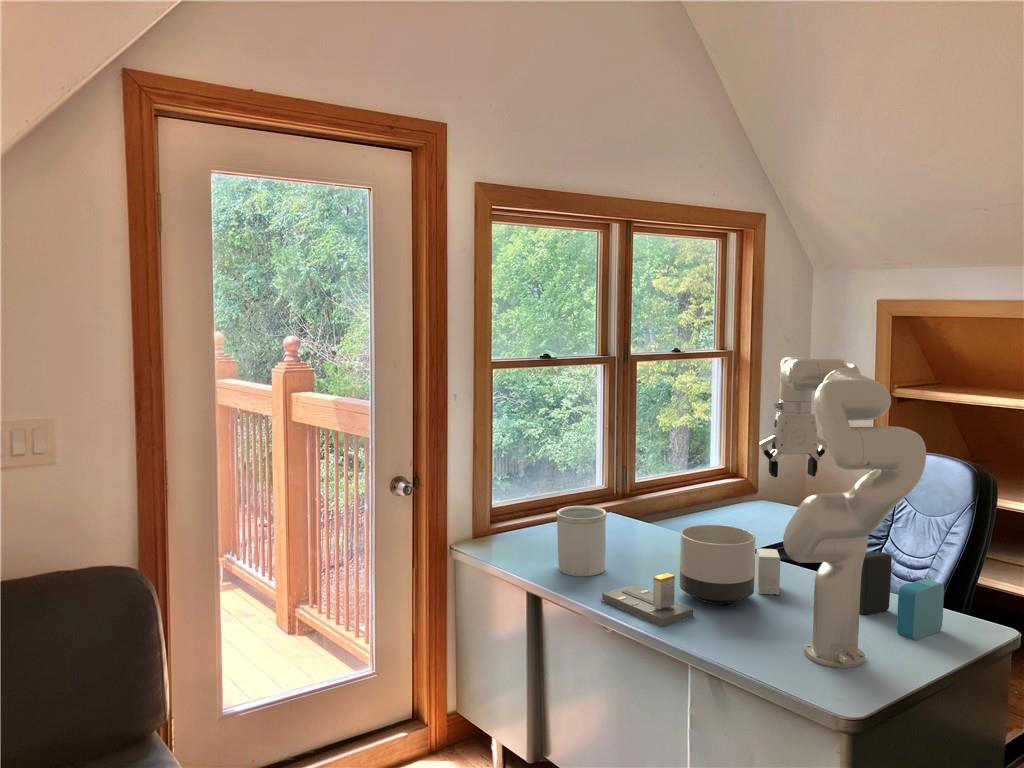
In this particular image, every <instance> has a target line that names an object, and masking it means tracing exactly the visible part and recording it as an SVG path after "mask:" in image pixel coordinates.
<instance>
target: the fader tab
mask: <svg viewBox="0 0 1024 768" xmlns="http://www.w3.org/2000/svg"><path fill="white" fill-rule="evenodd" d="M675 578H676V575H674V574H672V573H669V572H666V573H663V574H658V575H654V576H653V578H652V579H653V581H652V582H653V585H652V586H653V589H652V593H653V607H655V608H658V609H660V610H661V609H664V608H667V607H670V606H674V601H675V591H676V590H675V584H676V583H675V581H676V579H675Z"/></svg>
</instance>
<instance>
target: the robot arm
mask: <svg viewBox="0 0 1024 768" xmlns="http://www.w3.org/2000/svg"><path fill="white" fill-rule="evenodd" d="M779 375H780V376H779V399H778V401H777V402H775V403H774V404H773V409H776V410H778V411H776V413H775V417H774V421H773V426H772V427H773V428H772V435H771V436H769V437H768V438H766V439H765V438H764V439H763V440H762V441H760V442H759V443H758V446H759V447H760V450H761V451H762V454H763V455H764V456H765V458H767V459H768V473H769V475H770V476H772V477H773V478H778V472H779V461H777V459H779V457H780V456H781V455H808V456H809V458H808V459H807V474H808V475H809V476H811V477H816V476H817V474H816V473H818V461H820V459H821V457H822V456H823V455H825V452H826V450H827V452H828V454H829V456H830V458H831V459H830V460H831V461H832V462H833V463H834V465H836V466H837V467H839V468H840V469H843V470H846V471H847V470H848V471H865V470H867V471H869V470H870V471H869V472H868V473H865V474H863V475H862V476H861V477H860V478H858V480H856V481H855V483H854V485H853V486H852V487H851V488H850V489H849V490H848V491H843V492H829V493H828V492H827V493H826V492H825V493H824V492H823V493H815V494H812V495H809V496H808V497H806V498H805V499H803V501H802V502H801V503H800V505H799V506H798V508H797V509H796V510H795V512H794V514H793V515H792V516H791V518H790V520H789V521H788V523H787V525H786V527H785V529H784V532H783V537H782V541H783V548H784V551H785V553H786V554H787V556H788V557H789V559H791V560H792V561H794V562H797V563H801V564H802V563H805V564H807V563H810V564H812V563H821V564H820V566H819V568H818V569H817V571H816V573H815V576H814V577H815V578H814V585H813V586H814V587H813V588H814V590H813V610H812V611H813V617H812V638H811V639H812V641H810V642H808V643H807V644H806V645H805V647H804V653H805V656H806V657H807V658H809V659H810V660H811V661H813V662H815V663H818V664H821V665H824V666H827V667H831V668H832V667H833V668H840V669H852V668H857V667H860V666H862V665H864V663H865V662H866V654H865V653H864V651H863V650H861V649H860V648H859V629H860V614H859V610H860V589H861V573H862V566H863V561H864V557H865V554H867V553H866V552H867V548H868V536H870V535H871V534H872V533H874V532H875V530H877V529H878V527H879V526H880V525H881V524H882V523H883V522H884V520H885V519H886V518H887V517H888V515H889V514H890V513H891V512H892V510H893V509H894V508H895V507H896V506H897V505H898V504H899V503H900V502H901V501H902V500H904V499H905V498H906V497H907V496H908V495H909V494H910V493H911V492H912V491H913V490H914V489H915V487H916V486H917V485H918V483H919V482H920V480H921V478H922V476H923V473H924V470H925V467H926V462H927V447H926V443H925V441H924V439H923V438H922V436H921V435H920V434H919V433H917V432H916V431H914V430H912V429H909V428H906V427H902V426H893V425H890V426H889V425H887V426H883V425H882V426H877V425H876V426H851V425H850V423H849V421H850V422H851V421H853V422H854V421H857V422H858V421H873V420H876V419H878V418H880V417H882V416H884V415H885V414H886V413H887V412H888V411H889V410H890V408H891V406H892V405H891V404H892V398H891V397H892V396H891V393H890V391H889V390H888V388H887V387H885V385H883V384H882V383H881V382H879V381H877V380H874V379H872V378H869V377H867V376H864V375H862V374H861V372H860V369H859V367H858V365H856V364H855V363H852V362H850V361H847V360H844V359H839V358H808V357H802V356H790V357H789V356H788V357H784V358H783V359H782V360H781V361H780V373H779ZM813 391H814V392H815V393H814V401H813V402H814V403H813V404H814V410H815V413H813V412H812V400H813V399H812V398H813V397H812V395H813ZM816 417H817V420H816ZM817 421H818V423H819V427H820V429H821V432H822V435H823V438H820V437H819V436H818V427H817ZM818 444H819V448H818ZM769 445H771V449H772V450H771V451H769V450H768V446H769Z"/></svg>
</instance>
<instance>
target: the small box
mask: <svg viewBox="0 0 1024 768" xmlns="http://www.w3.org/2000/svg"><path fill="white" fill-rule="evenodd" d="M755 565H756V566H755V585H756V590H757V592H758V594H759V595H760V594H761V595H773V594H776V595H778V596H779V595H780V590H781V589H780V583H781V581H780V580H781V556H780V554H779V552H778V549H773V548H758V547H757V548H756V552H755ZM776 595H775V596H776Z"/></svg>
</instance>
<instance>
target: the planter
mask: <svg viewBox="0 0 1024 768" xmlns="http://www.w3.org/2000/svg"><path fill="white" fill-rule="evenodd" d="M679 539H680V542H679V543H680V545H679V549H680V550H679V553H680V554H679V588H680V589H681V590H682V591H683V592H684V593H686V594H688V595H690V596H693V597H694V598H696V599H698V600H700V601H702V602H705V603H708V604H712V605H713V604H714V605H726V604H727V605H728V604H732V603H735V602H738V601H740V600H743V599H747V598H749V597H751V596H752V595H753V594H754V592H755V578H756V566H755V565H756V534H754V533H753V532H751V531H749V530H747V529H745V528H741V527H738V526H733V525H732V526H731V525H724V524H696V525H691V526H688V527H685V528H683V529H681V530H680V538H679Z"/></svg>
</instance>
